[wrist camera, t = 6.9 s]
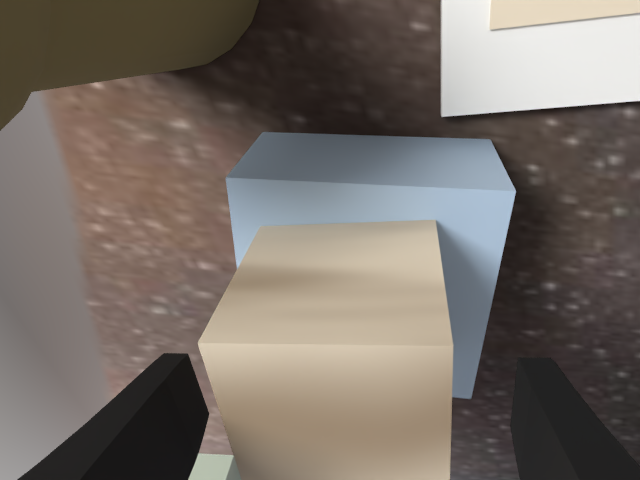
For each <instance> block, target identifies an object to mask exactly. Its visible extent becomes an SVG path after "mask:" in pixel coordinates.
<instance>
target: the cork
mask: <svg viewBox="0 0 640 480" xmlns="http://www.w3.org/2000/svg"><path fill="white" fill-rule="evenodd" d="M258 3H259V0H0V130H1V129H2V128H3V127H5V125H6V124H8V123H9V122H10V120H12V119H13V118H14V117H15V116H16V115H17V114H18V113H19V112H20V111H21V110H22V108H23V107H24V105H25V103H26V101H27V99H28V97H29V95H30V94H31V92H33V91H41V90H47V89H54V88H61V87H67V86H74V85H81V84H87V83H94V82H100V81H107V80H114V79H120V78H127V77H134V76H140V75H147V74H153V73H160V72H167V71H173V70H180V69H185V68H190V67H195V66H200V65H206V64H208V63H210V62H211V61H213V60H215V59H216V58H218V57H219V56H221V55H223V54H224V53H226V52H227V51H229V50H230V49H232V48H233V47H234V45H235V44H236V43H237V41H238V40H239V39H240V37H241V36H242V35H243V34H244V32H245V31H246V30H247V28H248V27H249V26H250V24H251V23H252V20H253V17H254V14H255V12H256V9H257V6H258Z"/></svg>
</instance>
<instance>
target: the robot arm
mask: <svg viewBox="0 0 640 480" xmlns="http://www.w3.org/2000/svg"><path fill="white" fill-rule="evenodd" d="M208 417H209V412H208V409H207V406H206V404H205V401H204V398H203V395H202V392H201V389H200V387H199V384H198V381H197V378H196V375H195V372H194V370H193V367H192V364H191V361H190V358H189V355H188V354H175V353H164V354H162V355H161V356H160V357H159V358H158V359H157V360H155V361H154V362H153V363H152V364H151V365H150V366H149V367H148V368H146V369H145V370H144V371H143V372H142V373H141V374H140V375H139V376H138V377H137V378H135V379H134V380H133V381H132V382H131V383H130V384H129V385H128V386H127V387H126V388H125V389H123V390H122V391H121V392H120V393H119V394H118V395H117V396H116V397H115V398H114V399H112V400H111V401H110V402H109V403H108V404H107V405H106V406H105V407H104V408H102V409H101V410H100V411H99V412H98V413H97V414H96V415H95V416H94V417H92V418H91V420H89V421H88V422H87V423H86V424H85V425H83V427H81V428H80V429H79V430H78V431H76V432H75V433H74V434H73V435H72V436H70V437H69V438H68V439H67V440H66V441H65V442H63V443H62V444H61V445H60V446H58V447H57V448H56V449H55V450H54V451H52V452H51V453H50V454H49V455H48V456H47V457H46V458H44V459H43V460H42V461H41V462H40V463H38V464H37V465H36V466H34V467H33V468H32V469H31V470H29V471H28V472H27V473H25V474H24V475H23V476H22V477H20V478H19V479H18V480H188V479H189V477H190V474H191V472H192V469H193V467H194V464H195V462H196V459H197V456H198V453H199V450H200V446H201V443H202V439H203V436H204V432H205V428H206V424H207V421H208ZM510 426H511V432H512V438H513V444H514V450H515V456H516V461H517V467H518V472H519V477H520V480H640V466H639V465H638V464H637V463H636V462H635V461H634V459H633V458H632V457H631V456H630V455H629V454H628V453H627V451H626V450H625V449H624V448H623V447H622V446H621V444H620V443H619V442H618V441H617V440H616V439H615V437H614V436H613V435H612V434H611V433H610V432H609V430H608V429H607V428H606V427H605V426H604V424H603V423H602V422H601V421H600V420H599V418H598V417H597V416H596V415H595V413H594V412H593V411H592V410H591V408H590V407H589V406H588V405H587V403H586V402H585V401H584V400H583V398H582V397H581V396H580V395H579V393H578V392H577V391H576V389H575V388H574V387H573V385H572V384H571V383H570V382H569V380H568V379H567V378H566V376H565V375H564V373H563V372H562V371H561V369H560V368H559V367H558V365H557V364H556V363H555V362H554V361H553V360H552V359H551V358H518V362H517V371H516V380H515V389H514V398H513V407H512V416H511V425H510Z"/></svg>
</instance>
